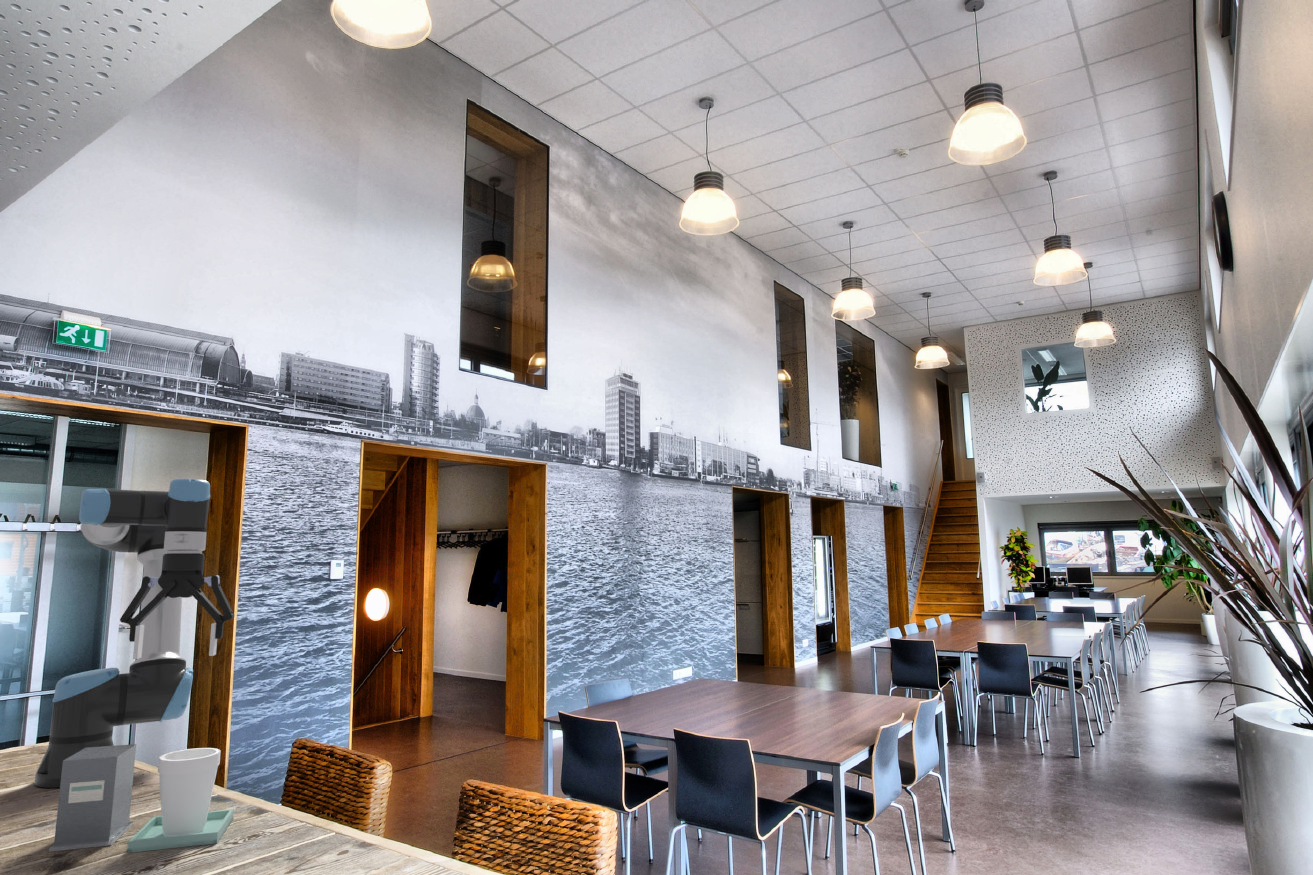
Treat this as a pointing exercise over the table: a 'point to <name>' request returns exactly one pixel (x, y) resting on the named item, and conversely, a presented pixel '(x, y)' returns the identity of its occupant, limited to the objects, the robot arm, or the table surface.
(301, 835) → the table surface
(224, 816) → the tray
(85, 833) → the unit
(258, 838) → the table surface
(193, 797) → the foam cup
